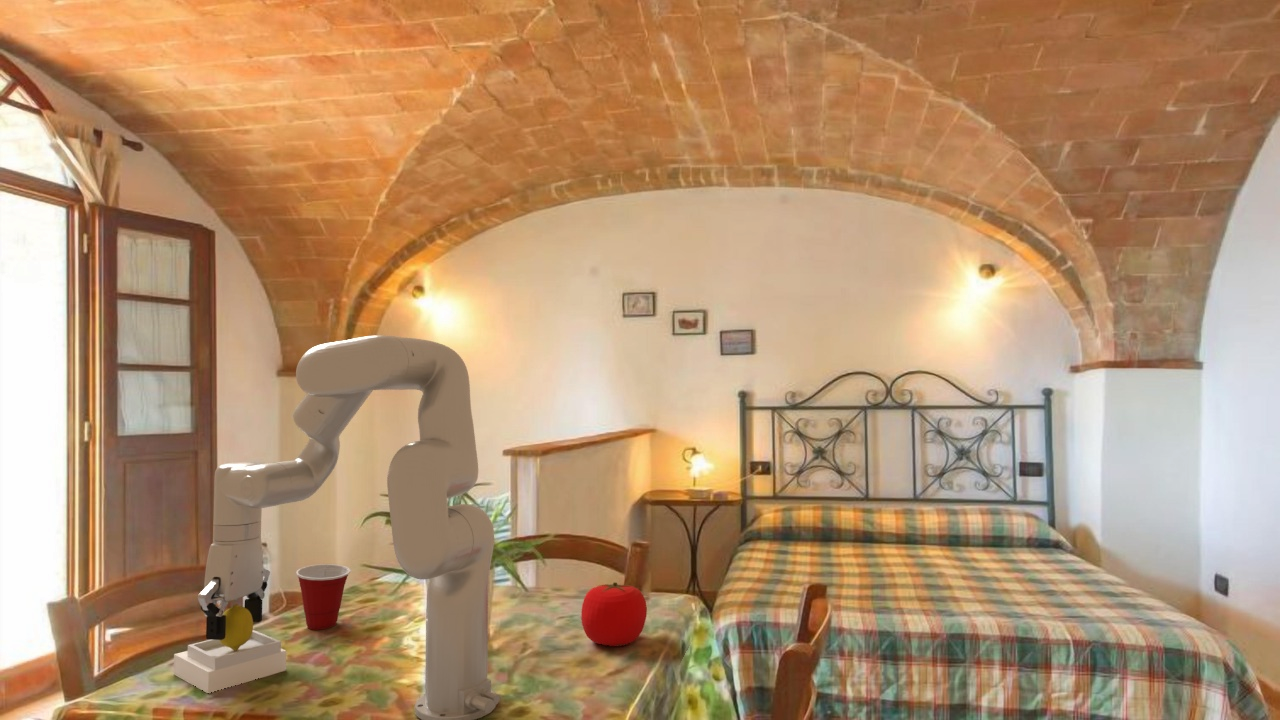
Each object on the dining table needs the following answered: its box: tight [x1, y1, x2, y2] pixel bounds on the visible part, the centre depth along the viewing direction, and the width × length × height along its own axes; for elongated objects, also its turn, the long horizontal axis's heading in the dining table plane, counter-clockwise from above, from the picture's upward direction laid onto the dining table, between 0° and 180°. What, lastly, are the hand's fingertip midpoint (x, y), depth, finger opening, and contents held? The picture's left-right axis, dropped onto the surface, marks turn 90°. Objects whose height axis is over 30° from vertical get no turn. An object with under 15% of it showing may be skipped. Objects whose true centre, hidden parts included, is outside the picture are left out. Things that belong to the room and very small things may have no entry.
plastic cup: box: [295, 563, 351, 631], centre depth 157 cm, size 11×11×12 cm
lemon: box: [220, 604, 254, 650], centre depth 130 cm, size 6×6×8 cm
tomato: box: [580, 582, 648, 647], centre depth 147 cm, size 13×14×12 cm
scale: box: [173, 629, 287, 694], centre depth 131 cm, size 14×13×5 cm
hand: (235, 630), depth 130 cm, fingers open, 9 cm apart
